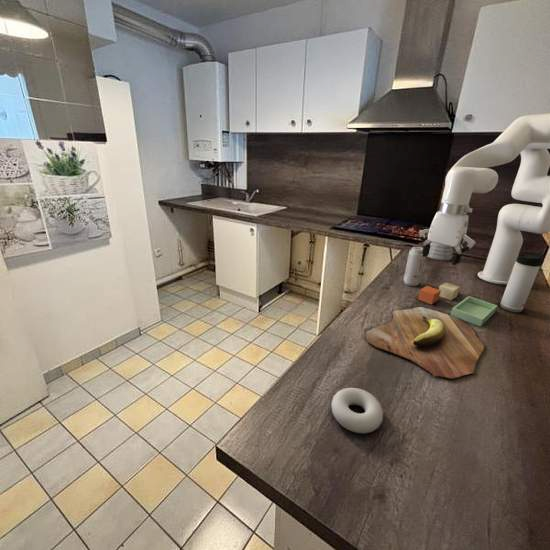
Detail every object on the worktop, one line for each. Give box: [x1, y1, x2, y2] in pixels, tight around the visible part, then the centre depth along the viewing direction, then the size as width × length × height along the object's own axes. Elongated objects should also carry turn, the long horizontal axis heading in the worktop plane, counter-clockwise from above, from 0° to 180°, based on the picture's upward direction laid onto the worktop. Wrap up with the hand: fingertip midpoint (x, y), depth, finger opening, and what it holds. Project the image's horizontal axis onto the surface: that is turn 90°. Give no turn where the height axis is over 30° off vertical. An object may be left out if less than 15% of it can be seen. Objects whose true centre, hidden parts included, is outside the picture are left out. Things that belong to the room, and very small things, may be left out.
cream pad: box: [438, 282, 461, 301], centre depth 108 cm, size 6×5×4 cm
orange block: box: [417, 285, 441, 305], centre depth 105 cm, size 6×5×4 cm
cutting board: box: [365, 306, 485, 379], centre depth 84 cm, size 35×27×4 cm
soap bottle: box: [426, 242, 454, 262], centre depth 147 cm, size 12×12×20 cm
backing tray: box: [450, 295, 498, 327], centre depth 96 cm, size 14×9×3 cm, turn 130°
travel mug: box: [499, 252, 546, 313], centre depth 97 cm, size 6×7×20 cm
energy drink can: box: [403, 246, 426, 287], centre depth 116 cm, size 6×6×15 cm
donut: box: [330, 387, 384, 434], centre depth 58 cm, size 10×4×10 cm
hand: (439, 260), depth 99 cm, fingers open, 9 cm apart
